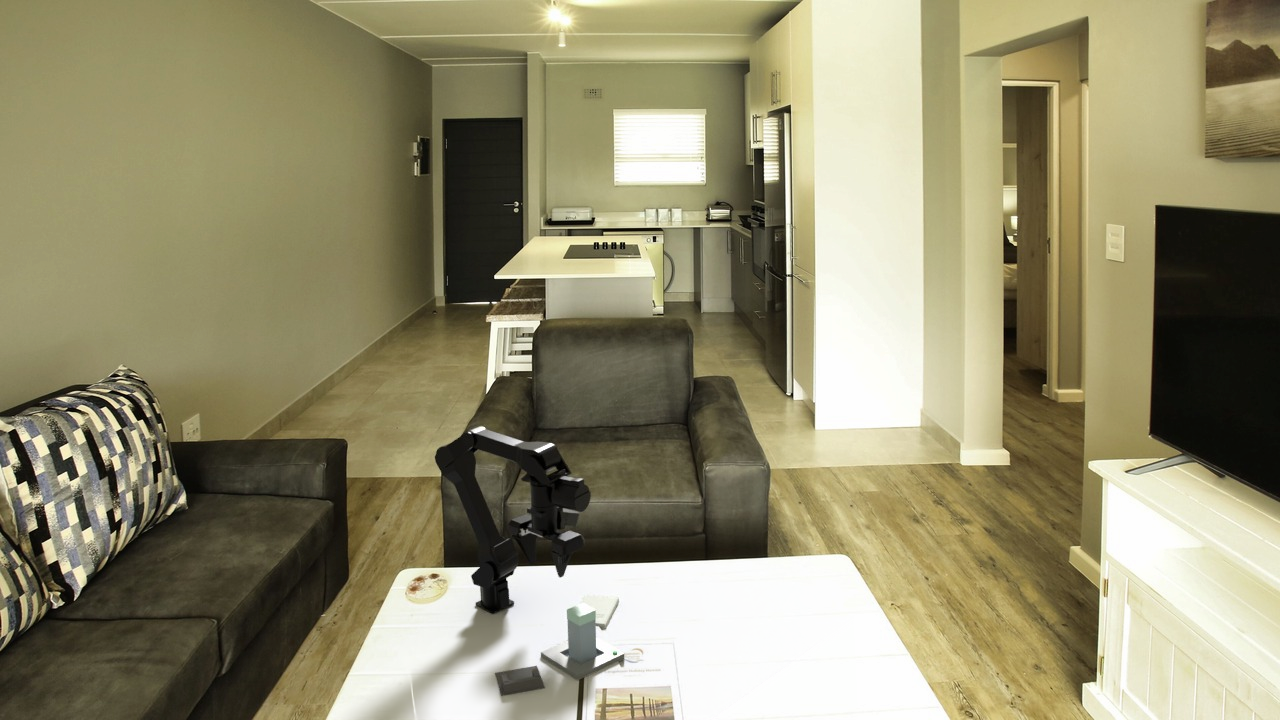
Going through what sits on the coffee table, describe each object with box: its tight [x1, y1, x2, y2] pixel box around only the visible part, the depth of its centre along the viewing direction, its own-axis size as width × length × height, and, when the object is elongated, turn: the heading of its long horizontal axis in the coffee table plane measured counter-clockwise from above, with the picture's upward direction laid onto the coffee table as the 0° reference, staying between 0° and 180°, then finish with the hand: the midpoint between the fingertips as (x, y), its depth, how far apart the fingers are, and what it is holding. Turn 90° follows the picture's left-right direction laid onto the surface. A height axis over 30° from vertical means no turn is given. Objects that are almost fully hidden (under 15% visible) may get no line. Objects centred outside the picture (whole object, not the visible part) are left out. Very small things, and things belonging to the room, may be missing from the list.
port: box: [540, 636, 625, 681], centre depth 189 cm, size 12×12×2 cm
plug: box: [566, 603, 598, 665], centre depth 188 cm, size 4×4×11 cm
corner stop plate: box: [494, 665, 546, 697], centre depth 181 cm, size 8×8×2 cm
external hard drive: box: [579, 594, 620, 629], centre depth 208 cm, size 2×8×12 cm
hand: (546, 570), depth 202 cm, fingers open, 9 cm apart
